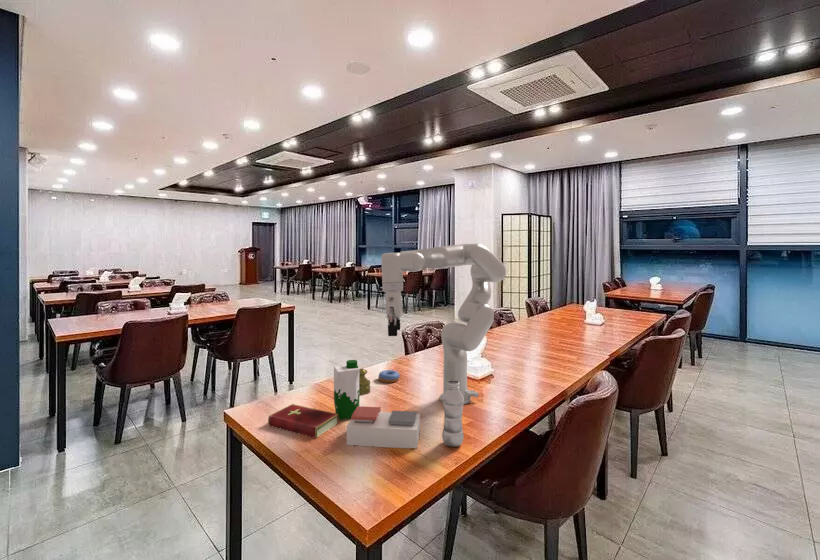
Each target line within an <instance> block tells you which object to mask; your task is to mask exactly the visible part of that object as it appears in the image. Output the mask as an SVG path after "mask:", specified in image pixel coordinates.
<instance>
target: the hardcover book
mask: <svg viewBox="0 0 820 560" xmlns="http://www.w3.org/2000/svg"><path fill="white" fill-rule="evenodd" d="M267 422H268V423H267V424H268V426H269V425H270V426H269V427H271V426H274V427H273V428H275V427H277V428H276V429H279V428H281V429H280V430H283V429H284V430H283V431H286V430H288V431H287V432H290V431H292V432H291V433H294V432H295V434H298V433H300V434H299V435H302V434H303V435H302V436H305V435H307V436H306V437H309V436H310V438H313V437H314V438H313V439H318V437H319V435H320V436H321V435H323V434H324V433H326V432H327V431H329V430H330V429H332V428H333V427H335V426H336V425H338V414H336V412H334V413H333V412H330V411H325V410H321V409H316V408H313V407H309V406H308V407H307V406H303V405H298V404H294V403H292V404H290V405H288V406H286V407H284V408H282V409H280V410H278V411H276V412H274V413H272V414H270V415H268V419H267ZM322 433H323V434H322Z"/></svg>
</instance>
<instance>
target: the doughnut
mask: <svg viewBox="0 0 820 560" xmlns="http://www.w3.org/2000/svg"><path fill="white" fill-rule="evenodd" d="M400 376H401V375H400V373H399V372H398V371H396V370H394V369H386V370H382V371H380V372H379V373H378V380H379V381H380V382H381V383H384V382H385V383H387V384H390V383H391V384H393V383H396V382H398V381H399V379H400ZM392 382H393V383H392Z"/></svg>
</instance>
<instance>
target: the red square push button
mask: <svg viewBox="0 0 820 560" xmlns="http://www.w3.org/2000/svg"><path fill="white" fill-rule="evenodd" d="M381 410H382V407H381V406H379V407H377V406H360V405H359V406H357V408H356V409H355V411H354V413H353V414H352V416H351V418H350V420H351V419H352V420H356V423H374V422H375V421H376V420H377V418H378V415H379V413H380V412H382V411H381Z"/></svg>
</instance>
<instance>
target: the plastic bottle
mask: <svg viewBox="0 0 820 560" xmlns="http://www.w3.org/2000/svg"><path fill="white" fill-rule="evenodd" d="M447 388H448V390H447V391H446V392H445V394H444V396H443V402H442V403H443V412H444V413H443V414H444V420H443V421H444V422H443V429H442V432H441V433H442V435H441V437H442V441H443V444H444V445H446V446H447V447H451V448H454V447H459V446H461V445H462V444H463V442H464V438H465V437H464V436H465V435H464V431H463V420H462V419H463V410H464V405H465V404H464V397H463V395H462V393H461V392H460V390H459V388H460V386H459V381H456V380H449V381H448V382H447Z"/></svg>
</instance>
